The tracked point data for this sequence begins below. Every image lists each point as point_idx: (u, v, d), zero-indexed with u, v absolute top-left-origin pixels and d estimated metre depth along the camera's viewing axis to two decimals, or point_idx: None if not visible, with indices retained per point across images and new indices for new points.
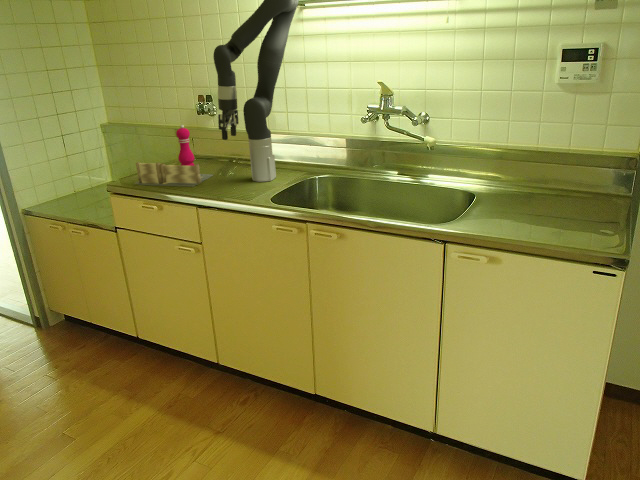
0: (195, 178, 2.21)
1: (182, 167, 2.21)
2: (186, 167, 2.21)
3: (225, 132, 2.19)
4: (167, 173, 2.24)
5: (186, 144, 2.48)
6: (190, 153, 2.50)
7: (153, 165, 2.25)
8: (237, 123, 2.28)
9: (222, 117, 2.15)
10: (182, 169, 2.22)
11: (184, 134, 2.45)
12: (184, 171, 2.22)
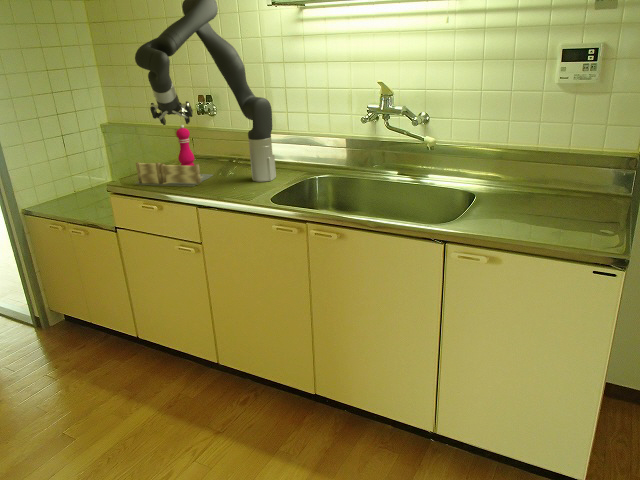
0: (195, 178, 2.21)
1: (182, 167, 2.21)
2: (186, 167, 2.21)
3: None
4: (167, 173, 2.24)
5: (186, 144, 2.48)
6: (190, 153, 2.50)
7: (153, 165, 2.25)
8: (156, 112, 2.00)
9: (189, 104, 1.96)
10: (182, 169, 2.22)
11: (184, 134, 2.45)
12: (184, 171, 2.22)
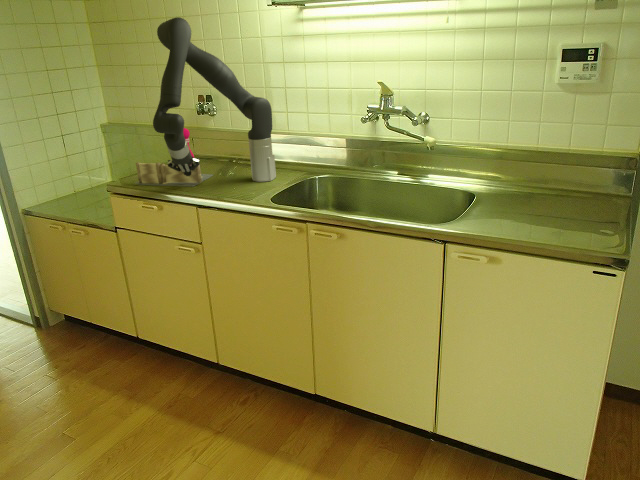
0: (196, 178, 2.22)
1: None
2: None
3: None
4: (167, 173, 2.24)
5: None
6: None
7: (153, 165, 2.25)
8: None
9: None
10: None
11: (184, 134, 2.45)
12: None
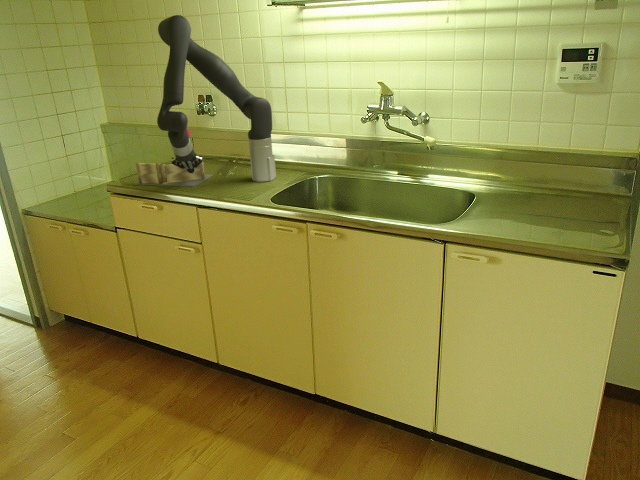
0: (200, 174, 2.28)
1: None
2: None
3: None
4: (169, 173, 2.25)
5: None
6: None
7: (153, 165, 2.25)
8: None
9: None
10: None
11: None
12: None
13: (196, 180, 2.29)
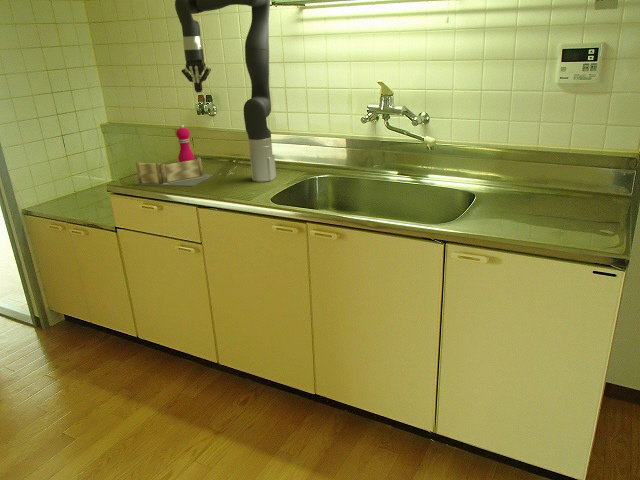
0: (198, 171, 2.32)
1: (185, 163, 2.28)
2: (189, 162, 2.29)
3: None
4: (169, 172, 2.26)
5: (186, 144, 2.48)
6: (190, 153, 2.50)
7: (153, 165, 2.25)
8: None
9: (209, 71, 2.24)
10: (185, 165, 2.29)
11: (184, 134, 2.45)
12: (186, 166, 2.29)
13: (196, 180, 2.29)
